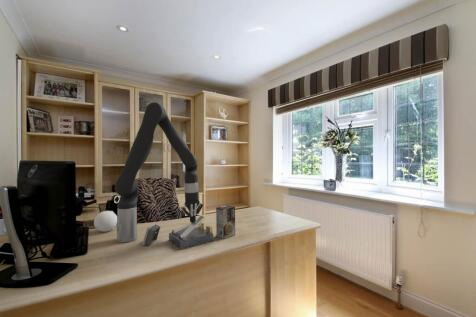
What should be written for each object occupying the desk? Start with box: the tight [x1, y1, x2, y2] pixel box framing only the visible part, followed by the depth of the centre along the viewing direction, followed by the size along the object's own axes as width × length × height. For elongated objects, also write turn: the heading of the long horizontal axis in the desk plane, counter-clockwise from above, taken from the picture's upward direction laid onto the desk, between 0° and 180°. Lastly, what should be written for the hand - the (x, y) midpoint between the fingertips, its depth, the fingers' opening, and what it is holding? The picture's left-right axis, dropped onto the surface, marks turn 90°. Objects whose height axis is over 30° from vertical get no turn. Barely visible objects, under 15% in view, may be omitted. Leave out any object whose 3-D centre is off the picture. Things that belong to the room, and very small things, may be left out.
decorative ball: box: [93, 210, 118, 233], centre depth 136 cm, size 12×12×12 cm
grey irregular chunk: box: [142, 222, 161, 246], centre depth 118 cm, size 9×5×9 cm, turn 176°
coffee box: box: [215, 204, 236, 240], centre depth 128 cm, size 9×6×16 cm
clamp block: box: [168, 221, 214, 251], centre depth 120 cm, size 18×15×7 cm
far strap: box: [173, 222, 193, 234], centre depth 124 cm, size 15×3×1 cm, turn 127°
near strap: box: [180, 215, 205, 239], centre depth 116 cm, size 15×3×1 cm
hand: (192, 222), depth 126 cm, fingers closed
